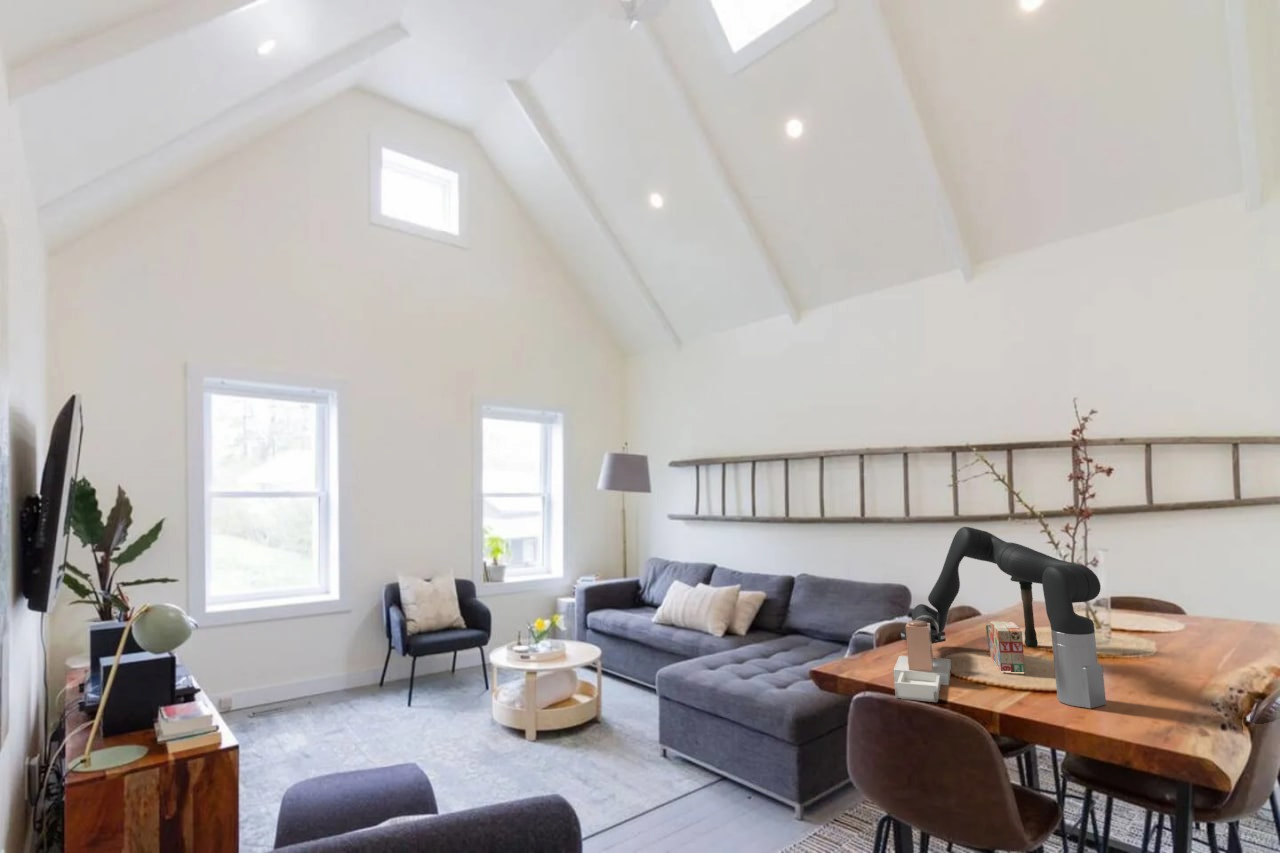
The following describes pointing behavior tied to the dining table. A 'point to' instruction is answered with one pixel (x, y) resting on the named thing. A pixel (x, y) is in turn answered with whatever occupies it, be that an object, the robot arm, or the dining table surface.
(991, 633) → the stack of blocks
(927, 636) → the tan piece
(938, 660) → the white windowed box
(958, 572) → the robot arm
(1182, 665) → the dining table surface
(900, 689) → the tray
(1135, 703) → the dining table surface
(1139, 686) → the dining table surface
